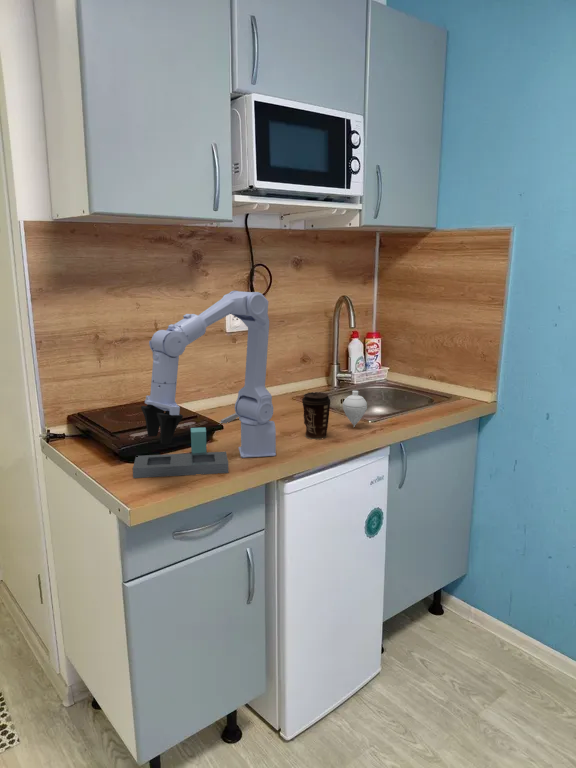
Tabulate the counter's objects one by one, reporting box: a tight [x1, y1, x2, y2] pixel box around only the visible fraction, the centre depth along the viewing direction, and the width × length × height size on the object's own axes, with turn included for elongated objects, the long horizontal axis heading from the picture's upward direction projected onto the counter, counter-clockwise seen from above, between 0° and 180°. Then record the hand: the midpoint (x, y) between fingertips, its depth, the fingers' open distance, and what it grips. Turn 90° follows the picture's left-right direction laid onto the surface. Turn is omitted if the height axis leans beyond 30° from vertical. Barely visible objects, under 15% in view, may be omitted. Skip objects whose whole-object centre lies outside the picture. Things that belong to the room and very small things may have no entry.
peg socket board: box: [132, 451, 229, 479], centre depth 142 cm, size 23×9×2 cm, turn 100°
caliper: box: [218, 412, 239, 424], centre depth 188 cm, size 20×1×6 cm, turn 137°
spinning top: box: [342, 390, 368, 428], centre depth 178 cm, size 8×8×12 cm
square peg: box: [190, 427, 208, 453], centre depth 153 cm, size 4×4×7 cm
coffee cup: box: [301, 391, 331, 440], centre depth 169 cm, size 9×8×13 cm
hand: (159, 439), depth 132 cm, fingers open, 7 cm apart
